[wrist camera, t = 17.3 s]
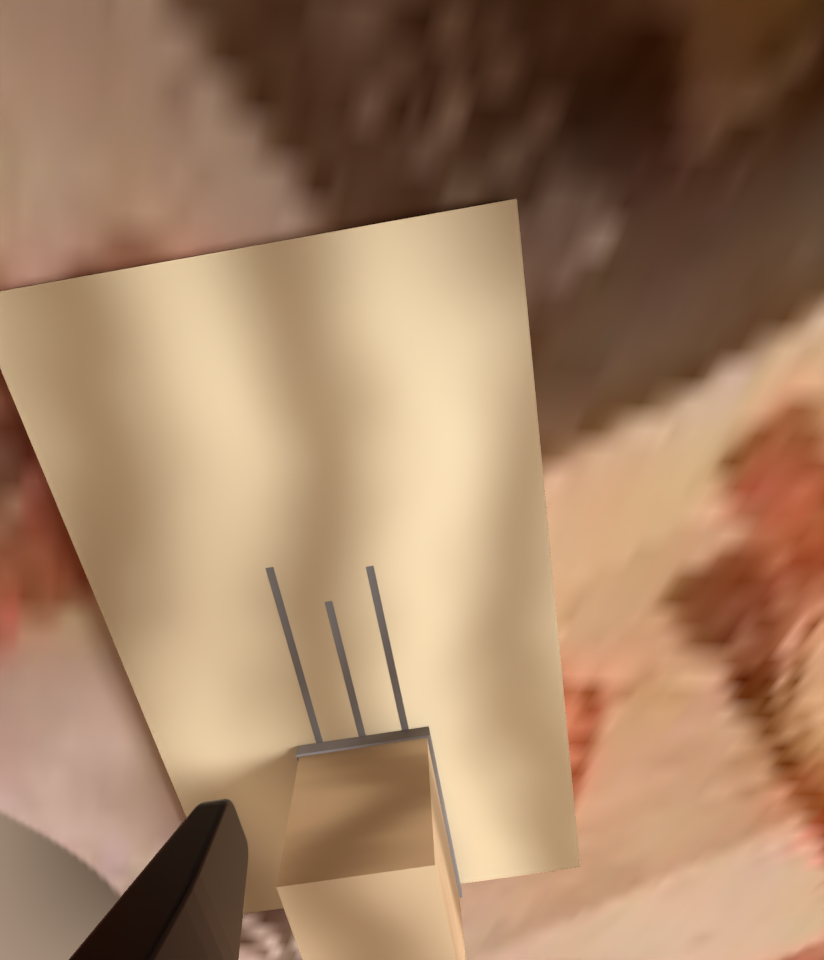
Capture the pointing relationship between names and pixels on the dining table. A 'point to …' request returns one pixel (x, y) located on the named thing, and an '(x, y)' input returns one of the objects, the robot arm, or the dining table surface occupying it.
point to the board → (317, 515)
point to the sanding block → (371, 852)
